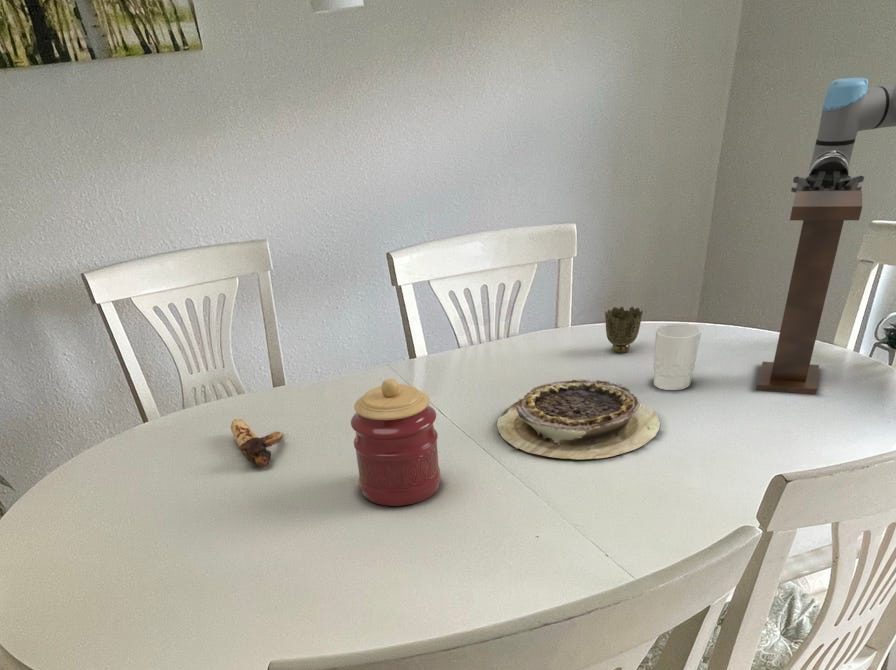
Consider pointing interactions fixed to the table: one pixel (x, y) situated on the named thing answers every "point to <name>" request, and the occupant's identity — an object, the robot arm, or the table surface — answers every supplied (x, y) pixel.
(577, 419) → the pie
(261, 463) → the lashed bone hook
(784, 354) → the stand
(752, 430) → the table surface
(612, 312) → the cup
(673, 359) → the white cup
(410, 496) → the kitchen canister
